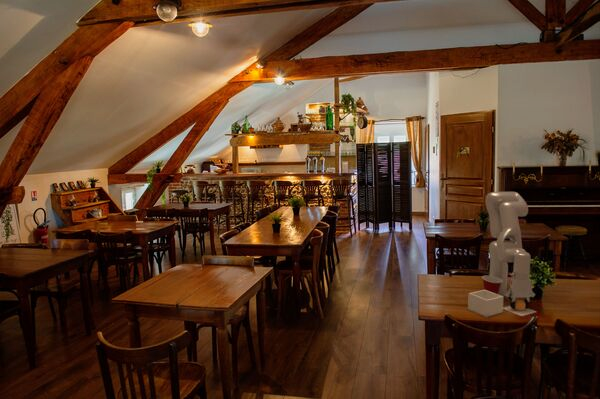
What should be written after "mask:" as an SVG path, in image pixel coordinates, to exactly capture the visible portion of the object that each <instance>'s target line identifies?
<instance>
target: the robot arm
mask: <svg viewBox="0 0 600 399" xmlns="http://www.w3.org/2000/svg"><path fill="white" fill-rule="evenodd" d="M485 206H486V210H487V212H488V216H489V230H490V235H491V236H492V238H495V239H496V240H493V241H492V242H490V243H489V245H488V248H489V250H488V251H489V260H490V261H489V262H490V263H489V276H494V277H498V278H500V279H502V280H503V282H502V283H501V285H500V288H499V292H498V295H501V296H503V297H506V298H507V299H509V306H510V307H511V308H512V309H515V302H514V300H516V299H521V298H522V299H523V298H524V300H523V301H524V302H525V304H526V307H525V309H529V302H531V300H533V298H534V297H535V296H536V293H534V291H533V285H532V280H531V278H530V273H531V272H530V271H531V268H530V267H531V254H530V253H529V252H527V251H526V249H524V248H523V242H522V232H521V227H520V224H519V223H520V222H519V217H526V216H527V215H528V214H529V207H528V204H527V202H526V201H525V199H524V198H523V197H522V196H521V195H520V194H519V193H518V192H516V191H492V192H488V194H486V196H485ZM505 239H509V240H505ZM508 263H513V271H512V273H510V276H511V278H510V282H509V288H508V274H509V265H508ZM507 289H508V290H507Z"/></svg>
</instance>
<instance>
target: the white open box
mask: <svg viewBox="0 0 600 399" xmlns="http://www.w3.org/2000/svg"><path fill="white" fill-rule="evenodd" d="M467 297H468V299H467V303H468V304H467V310H468V311H471V312H473V313H476V314H477V315H480V316H482V317H485V318H490V317H491V316H493V315H498V314H502V313H503V312H504V309H503V308H504V297H505V296H501V295H498V294H495V293H493V292H490V291H487V290H484V289H482V290H477V291H473V292H469V293H468V296H467Z"/></svg>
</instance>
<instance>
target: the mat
mask: <svg viewBox="0 0 600 399" xmlns="http://www.w3.org/2000/svg"><path fill="white" fill-rule="evenodd" d="M503 310H505V311H507V312H510V313H512V314H515V315H517V316H520V317H524V316H528V315H531V314H534V313H537V311H536V310H533V309H531V308H528V309H525V308H524V309H523V310H517V309H512V308H511V307H510V305H508V306H503Z"/></svg>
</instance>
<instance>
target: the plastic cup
mask: <svg viewBox="0 0 600 399" xmlns="http://www.w3.org/2000/svg"><path fill="white" fill-rule="evenodd" d="M481 278H482V283H483V290H487V291H490V292H493V293H495V294H498V292H499V288H500V285H501V283H502V282H503V280H502V279H500V278H498V277H494V276H490V275H482V277H481Z"/></svg>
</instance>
